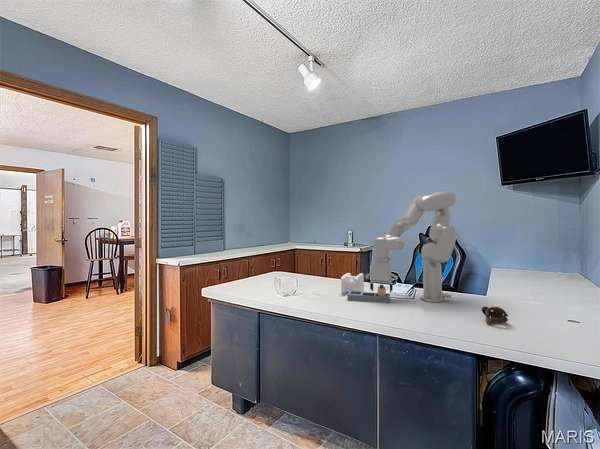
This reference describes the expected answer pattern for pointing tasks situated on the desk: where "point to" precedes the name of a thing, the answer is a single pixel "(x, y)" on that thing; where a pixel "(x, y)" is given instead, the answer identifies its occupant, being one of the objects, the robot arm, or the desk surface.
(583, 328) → the desk surface
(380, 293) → the plug
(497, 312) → the brown turtle figurine
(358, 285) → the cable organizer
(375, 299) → the grey compartment tray
